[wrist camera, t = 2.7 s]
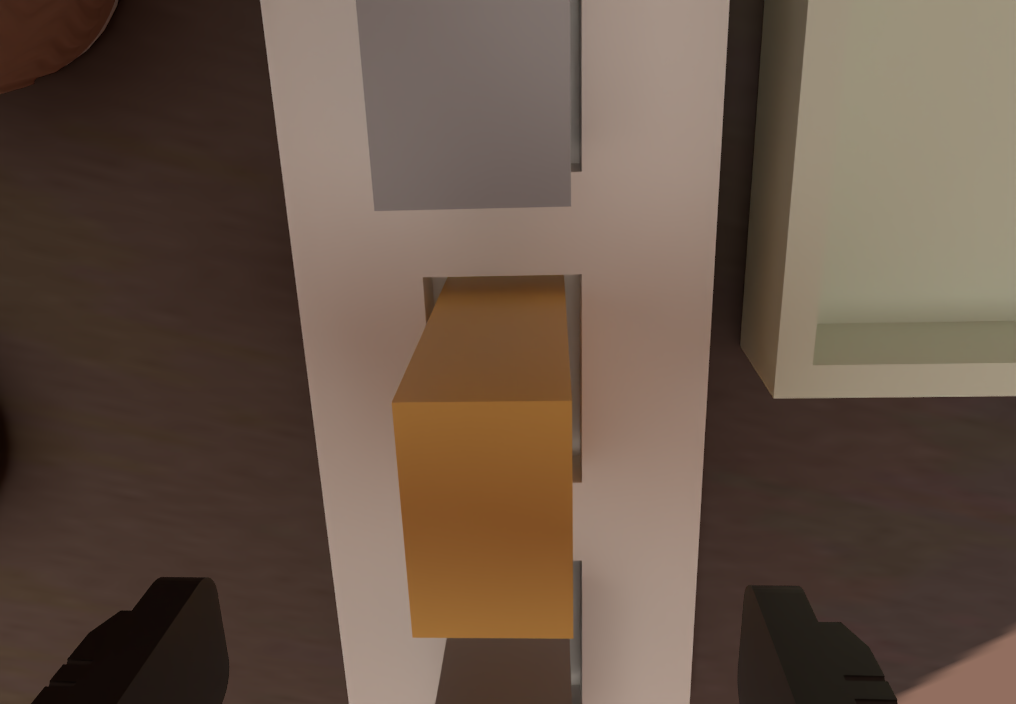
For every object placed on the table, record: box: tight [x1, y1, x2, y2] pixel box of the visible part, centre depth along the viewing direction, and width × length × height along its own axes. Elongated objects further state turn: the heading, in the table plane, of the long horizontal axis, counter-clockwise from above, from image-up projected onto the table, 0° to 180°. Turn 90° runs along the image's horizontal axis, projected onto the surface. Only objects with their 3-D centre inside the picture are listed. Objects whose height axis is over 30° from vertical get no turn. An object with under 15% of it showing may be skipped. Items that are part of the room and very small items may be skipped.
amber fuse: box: [392, 275, 573, 639], centre depth 18 cm, size 3×5×8 cm, turn 2°
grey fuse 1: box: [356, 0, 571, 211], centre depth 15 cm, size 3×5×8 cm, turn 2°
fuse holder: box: [260, 0, 730, 704], centre depth 21 cm, size 10×23×2 cm, turn 2°
